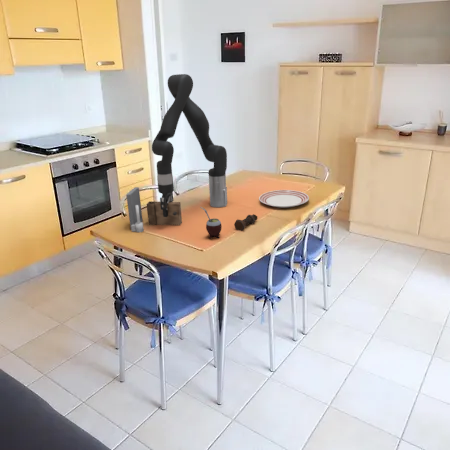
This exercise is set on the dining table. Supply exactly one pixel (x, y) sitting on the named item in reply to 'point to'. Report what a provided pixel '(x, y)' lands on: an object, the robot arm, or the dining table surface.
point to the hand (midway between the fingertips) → (168, 213)
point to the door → (157, 214)
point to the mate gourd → (213, 227)
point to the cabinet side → (135, 210)
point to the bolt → (245, 222)
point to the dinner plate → (284, 198)
